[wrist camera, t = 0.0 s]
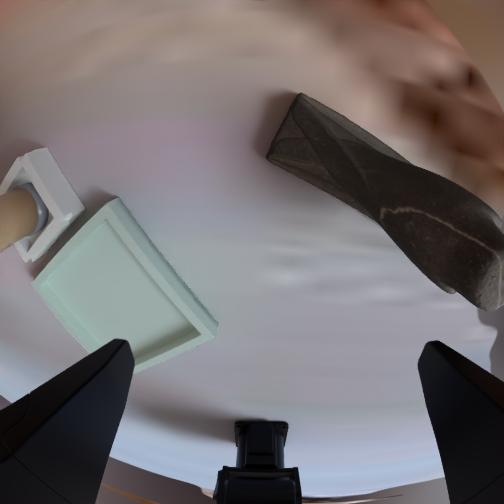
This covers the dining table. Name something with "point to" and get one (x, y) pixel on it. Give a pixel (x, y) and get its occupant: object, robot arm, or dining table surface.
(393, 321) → the dining table surface
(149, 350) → the tray
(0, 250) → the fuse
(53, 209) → the tray
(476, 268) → the sculpture
